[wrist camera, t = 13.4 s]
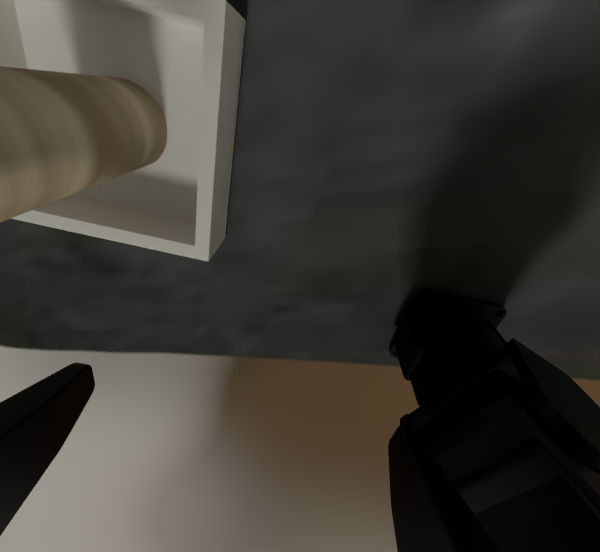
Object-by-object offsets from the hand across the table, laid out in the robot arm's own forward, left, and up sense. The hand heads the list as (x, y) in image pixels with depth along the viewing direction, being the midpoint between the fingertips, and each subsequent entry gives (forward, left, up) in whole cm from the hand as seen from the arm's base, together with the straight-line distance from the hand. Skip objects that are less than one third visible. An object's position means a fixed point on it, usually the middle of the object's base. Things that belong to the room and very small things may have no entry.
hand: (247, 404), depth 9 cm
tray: (+10, -4, -13) cm, 17 cm away
